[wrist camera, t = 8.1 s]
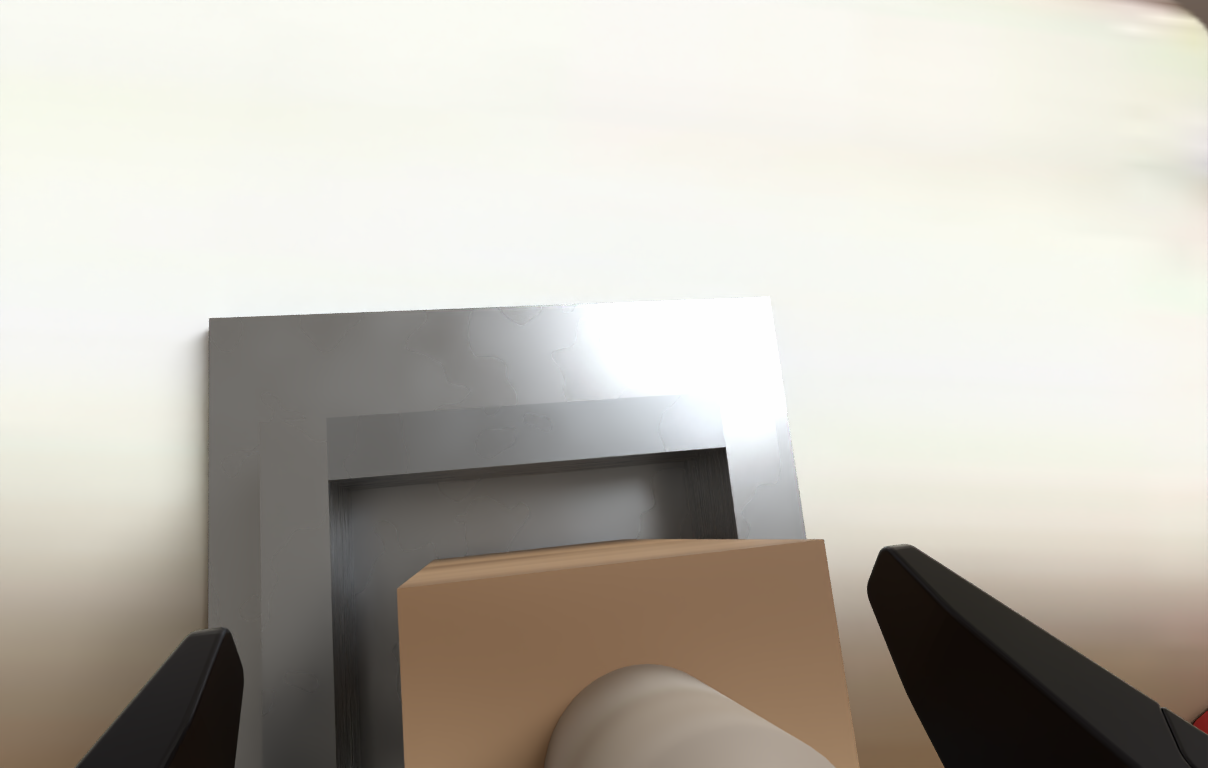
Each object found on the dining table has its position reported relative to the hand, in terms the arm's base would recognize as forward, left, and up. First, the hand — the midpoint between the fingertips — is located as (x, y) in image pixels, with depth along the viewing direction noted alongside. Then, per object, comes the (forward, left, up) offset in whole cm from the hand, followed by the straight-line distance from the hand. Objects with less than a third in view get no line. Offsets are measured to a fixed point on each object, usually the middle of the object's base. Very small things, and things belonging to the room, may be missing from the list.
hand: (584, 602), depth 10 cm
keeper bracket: (-1, -1, -8) cm, 8 cm away
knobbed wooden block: (-1, -1, -7) cm, 7 cm away
